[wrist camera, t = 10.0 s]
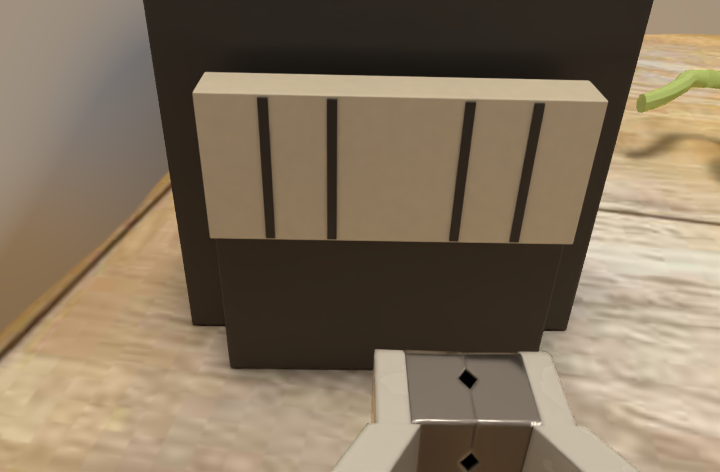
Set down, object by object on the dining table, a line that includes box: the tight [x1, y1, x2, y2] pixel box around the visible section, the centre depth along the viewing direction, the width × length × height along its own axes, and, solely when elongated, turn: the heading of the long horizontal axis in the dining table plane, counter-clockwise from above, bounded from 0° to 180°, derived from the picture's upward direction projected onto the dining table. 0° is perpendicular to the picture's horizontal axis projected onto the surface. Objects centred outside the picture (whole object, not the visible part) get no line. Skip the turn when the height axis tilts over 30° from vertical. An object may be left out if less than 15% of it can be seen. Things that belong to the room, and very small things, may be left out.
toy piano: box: [143, 0, 653, 369], centre depth 25 cm, size 9×16×15 cm, turn 90°
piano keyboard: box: [192, 72, 608, 244], centre depth 20 cm, size 2×12×5 cm, turn 90°
